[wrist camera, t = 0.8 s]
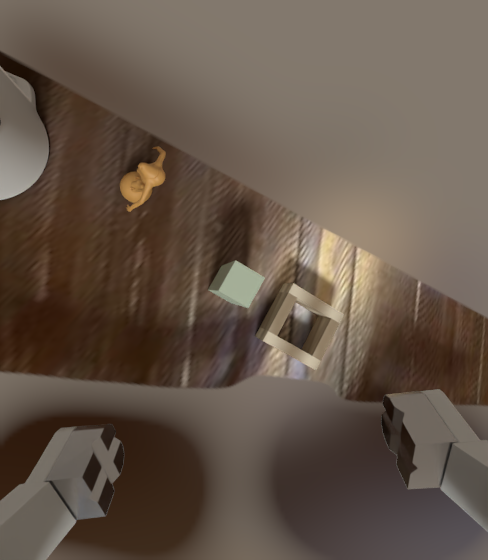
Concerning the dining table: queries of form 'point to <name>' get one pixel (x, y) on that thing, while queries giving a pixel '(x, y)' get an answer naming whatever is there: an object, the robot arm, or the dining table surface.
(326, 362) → the dining table surface
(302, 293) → the beige square socket frame
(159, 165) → the figurine
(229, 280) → the sage-green peg
